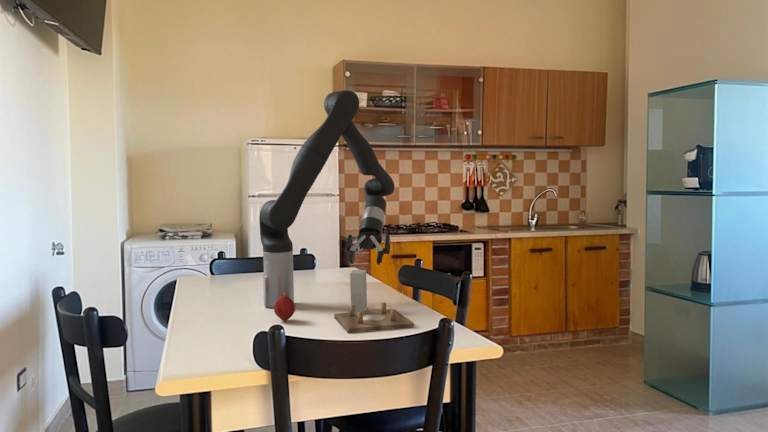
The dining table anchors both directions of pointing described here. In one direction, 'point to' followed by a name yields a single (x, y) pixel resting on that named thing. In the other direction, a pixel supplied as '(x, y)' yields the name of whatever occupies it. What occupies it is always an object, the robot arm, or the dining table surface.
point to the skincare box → (358, 290)
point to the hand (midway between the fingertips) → (364, 262)
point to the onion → (284, 307)
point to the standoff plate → (372, 320)
